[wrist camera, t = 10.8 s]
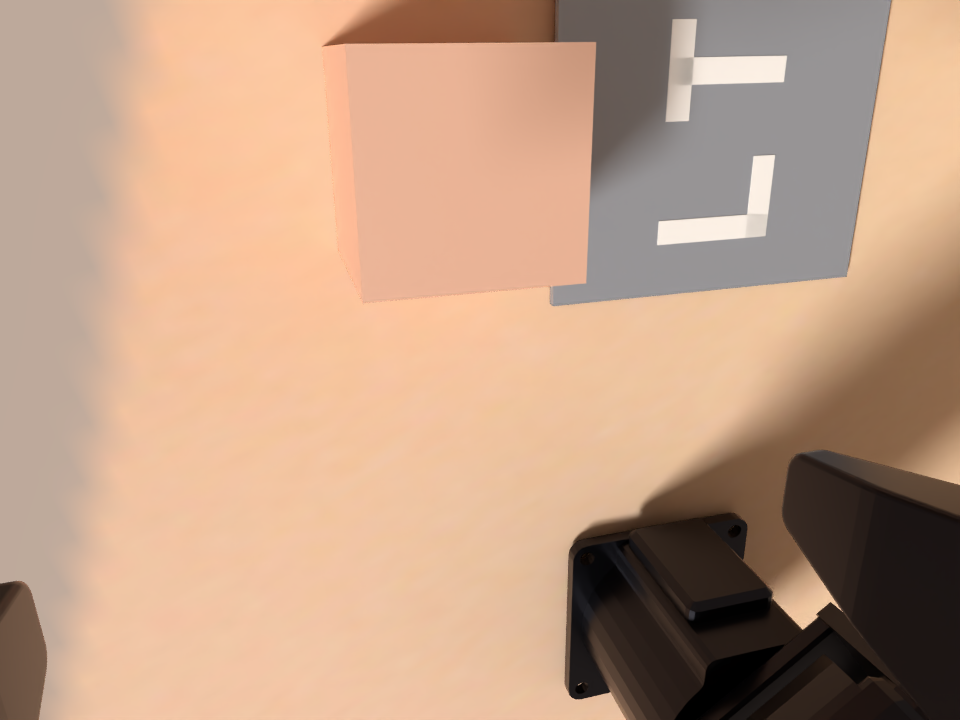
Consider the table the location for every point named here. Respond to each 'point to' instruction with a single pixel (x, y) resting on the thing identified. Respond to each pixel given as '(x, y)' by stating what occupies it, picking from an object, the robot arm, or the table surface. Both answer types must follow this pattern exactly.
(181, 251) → the table surface
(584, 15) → the tile
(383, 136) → the block
